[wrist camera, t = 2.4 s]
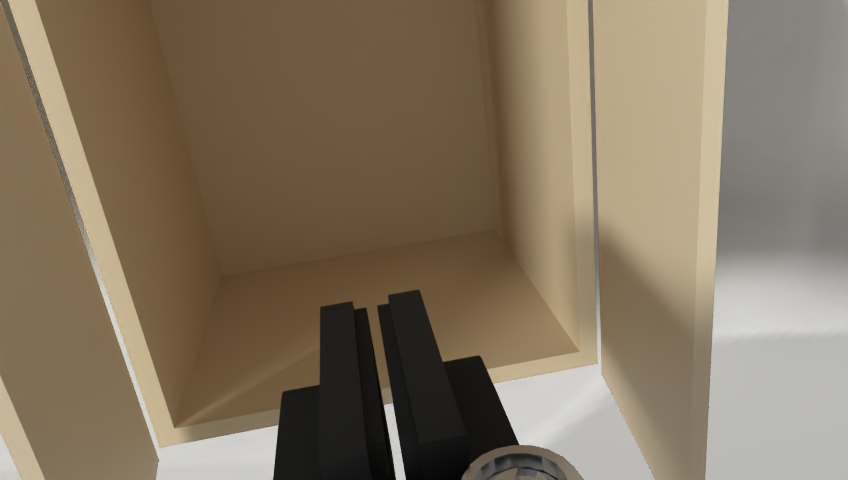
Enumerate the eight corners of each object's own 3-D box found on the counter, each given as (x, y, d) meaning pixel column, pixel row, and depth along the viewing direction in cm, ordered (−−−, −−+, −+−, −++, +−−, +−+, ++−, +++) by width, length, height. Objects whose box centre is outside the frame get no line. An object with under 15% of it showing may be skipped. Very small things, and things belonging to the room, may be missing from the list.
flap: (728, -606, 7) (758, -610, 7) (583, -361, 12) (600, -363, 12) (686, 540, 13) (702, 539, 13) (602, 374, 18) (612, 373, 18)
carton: (88, -177, 21) (-93, -296, 12) (471, -219, 22) (583, -357, 13) (213, 285, 27) (159, 447, 18) (507, 234, 28) (601, 363, 19)
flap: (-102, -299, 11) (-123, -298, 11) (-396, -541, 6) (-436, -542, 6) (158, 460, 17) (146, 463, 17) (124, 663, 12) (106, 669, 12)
